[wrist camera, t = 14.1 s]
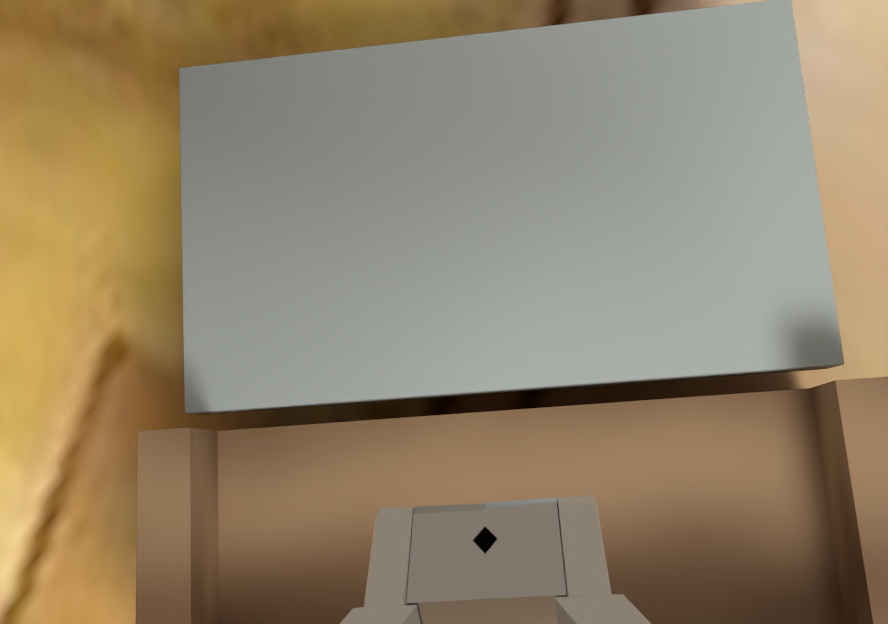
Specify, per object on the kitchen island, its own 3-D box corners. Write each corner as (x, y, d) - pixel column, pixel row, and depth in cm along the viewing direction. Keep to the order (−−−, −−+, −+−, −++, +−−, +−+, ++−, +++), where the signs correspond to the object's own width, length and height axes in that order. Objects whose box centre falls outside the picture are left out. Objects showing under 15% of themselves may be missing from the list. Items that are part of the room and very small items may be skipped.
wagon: (861, 756, 26) (1060, 929, 16) (233, 776, 28) (67, 942, 18) (808, 399, 28) (955, 360, 18) (229, 440, 30) (79, 424, 20)
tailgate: (844, 364, 23) (790, -2, 25) (184, 413, 25) (179, 68, 27) (816, 371, 25) (769, 35, 27) (213, 415, 27) (206, 97, 29)
